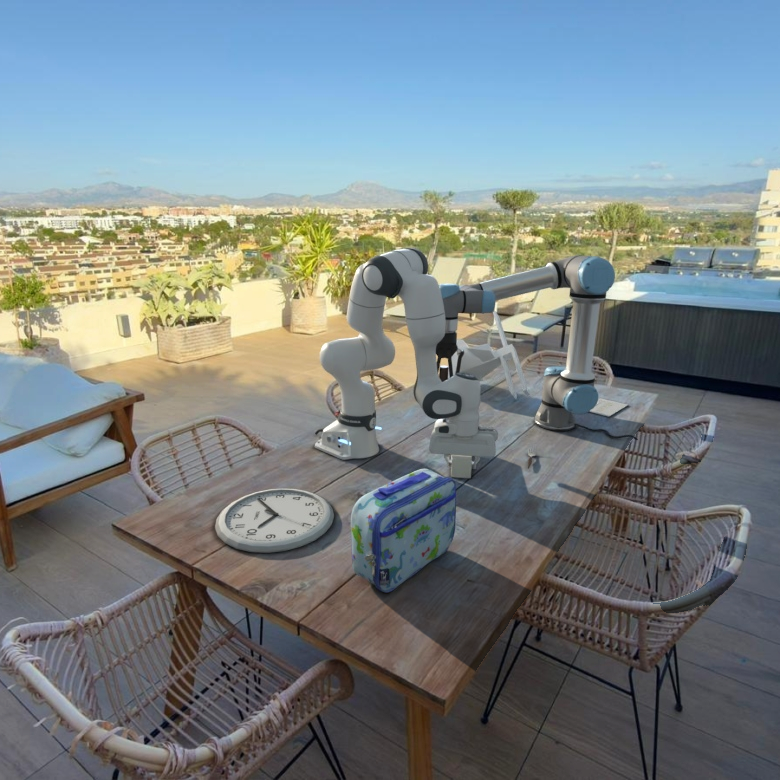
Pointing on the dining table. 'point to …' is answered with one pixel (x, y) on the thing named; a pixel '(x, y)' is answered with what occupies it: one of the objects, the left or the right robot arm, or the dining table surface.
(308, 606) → the dining table surface
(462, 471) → the peg block
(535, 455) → the fork
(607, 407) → the invitation card
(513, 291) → the right robot arm
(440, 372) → the walnut peg
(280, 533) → the wall clock
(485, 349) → the white plastic object
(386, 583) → the lunch box
